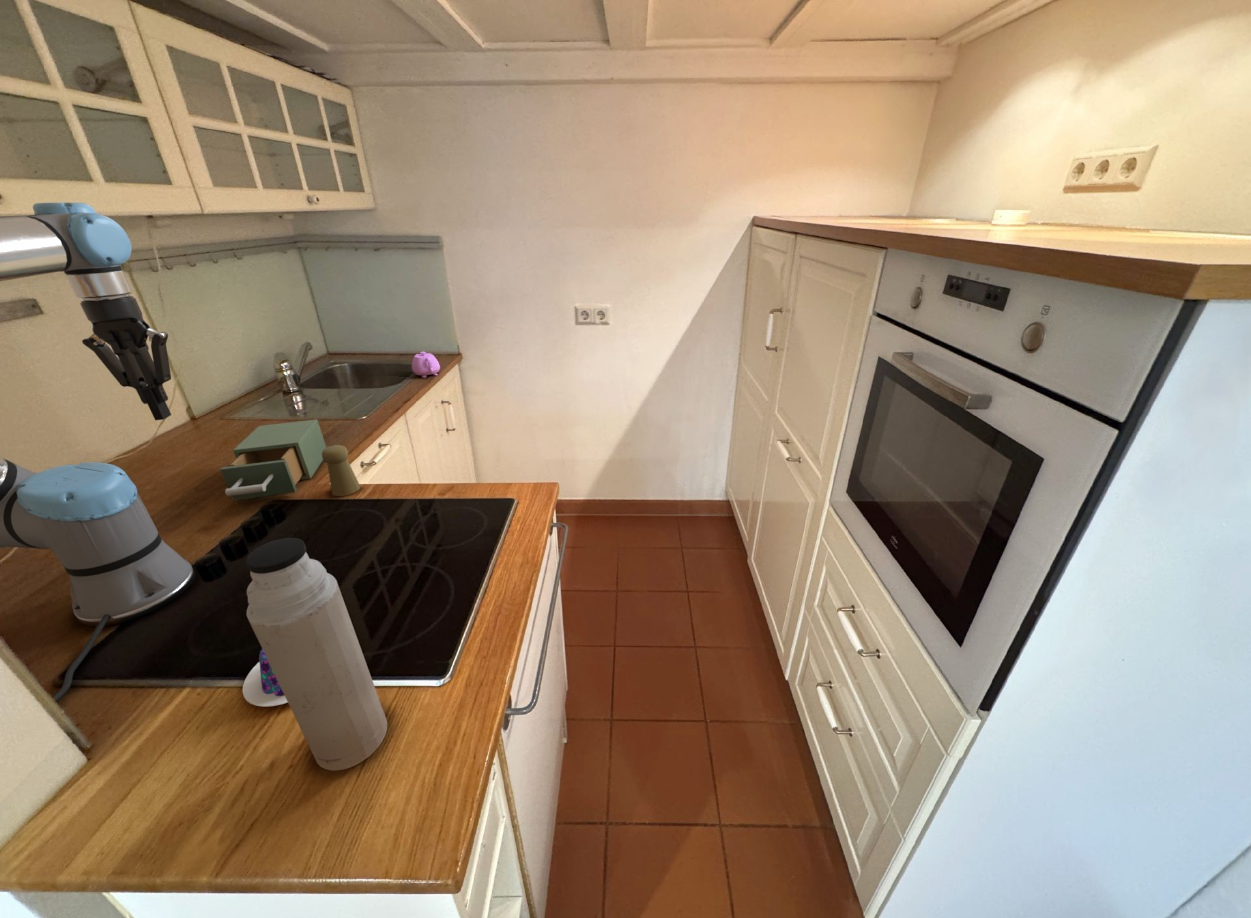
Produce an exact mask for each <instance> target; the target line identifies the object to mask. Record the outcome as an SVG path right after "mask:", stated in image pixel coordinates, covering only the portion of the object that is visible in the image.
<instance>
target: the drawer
mask: <svg viewBox="0 0 1251 918" xmlns="http://www.w3.org/2000/svg"><path fill="white" fill-rule="evenodd" d="M220 473H221V476H222V478H223V480H224V483H225V484H226V486H227V488H226V489H225V491H224V493H225V495H226V497H231V498H232V500H233V501H240V500H247V499H254V498H264V497H269V496H276V495H277V496H278V495H284V494H291V493H296V492H297V491H298V489H297V487H296V485H297V484H298V482H299V481H300V480H299V479H300V478H301V476H302V475H303V474H304V470H303V467H302V464H301V461H300V458H299V455H298V453H297V450H296V447H295V446H293V447H284V448H276V449H267V450H259V451H250V452H243V453H242V454H241V455H240V456H239V457H238V458H237V459H236V458H235V459H234V460H233V462H232V463H231V464H230V465H228V466H222V467H220Z"/></svg>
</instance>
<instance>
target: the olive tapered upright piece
mask: <svg viewBox="0 0 1251 918" xmlns="http://www.w3.org/2000/svg"><path fill="white" fill-rule="evenodd" d="M348 457H349V451H348V449H347V447H346V446H344V445H341V444H335V445H330V446H326V448H325V449H324V450H323V452H322V458H323V461H324V462H325V463H326V464H327V471H328V477H329V483H330V489H331V494H332V496H334V497H345V496H349V495H352V494H354V493H356V492H358V491H359V490H361V485H360V482H359V481H358V479H357V476H356V474H355V472H354V470H353V468H352V466H351V464H350V461H349V460H348Z"/></svg>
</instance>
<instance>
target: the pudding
mask: <svg viewBox="0 0 1251 918" xmlns="http://www.w3.org/2000/svg"><path fill="white" fill-rule="evenodd" d="M258 656H259V657H258V660H259V661H258V662H257V663H256V664H255V666H253V667H252V669H251V670H250V671H249V673H248V674H247V675H246V677H245V679H244V682H243V685H242V694H243V698H244V699H245V701H246V702H247V703H249V704H250V705H254V706H257V707H263V708H264V707H275V706H281V705H284V704H287V703H288V701H287V699H286V697H285V695H284V693H283V691H282V689H281V687H280V685H279V683H278V681H277V678H276V676H275V674H274V672H273V670H272V668H271V666H270V664H269V662H268V659H267V657H266V655H265V653H264V651H263V649H262V648H261V649H260V651H259V655H258ZM288 704H289V703H288Z"/></svg>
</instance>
